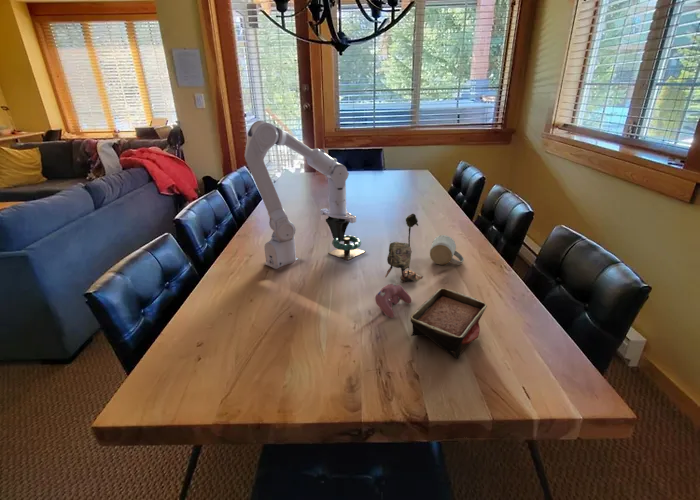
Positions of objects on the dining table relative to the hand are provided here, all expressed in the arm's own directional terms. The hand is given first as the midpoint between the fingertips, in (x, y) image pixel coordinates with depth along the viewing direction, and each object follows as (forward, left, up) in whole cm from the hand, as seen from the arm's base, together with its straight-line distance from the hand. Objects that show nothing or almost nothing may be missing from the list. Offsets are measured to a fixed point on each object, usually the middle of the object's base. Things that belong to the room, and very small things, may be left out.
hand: (338, 238), depth 127 cm
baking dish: (-19, -51, -5) cm, 55 cm away
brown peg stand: (0, -4, -5) cm, 6 cm away
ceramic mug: (+17, -32, -5) cm, 36 cm away
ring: (0, -4, -1) cm, 4 cm away
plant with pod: (-3, -29, -5) cm, 29 cm away
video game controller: (-17, -35, -5) cm, 39 cm away
